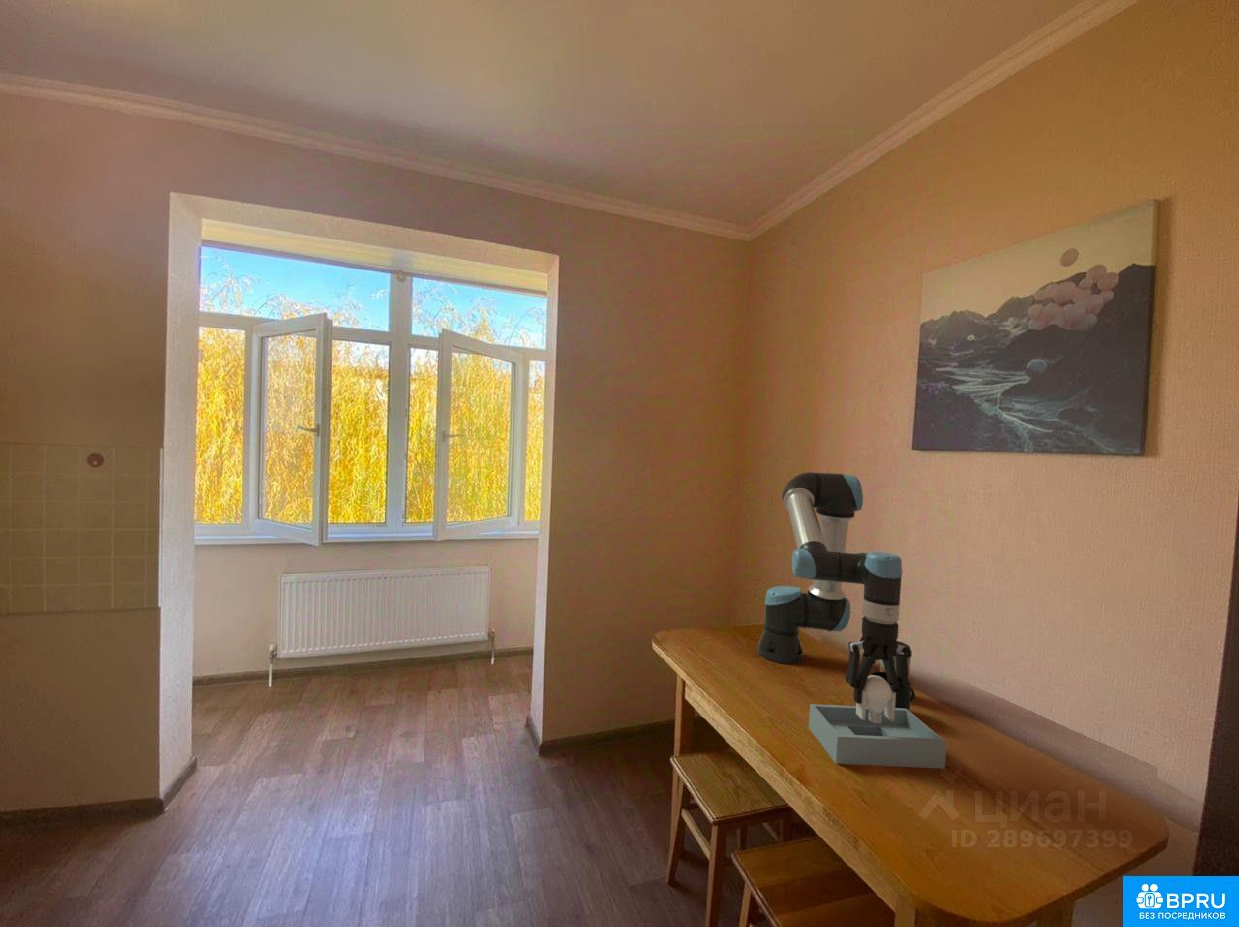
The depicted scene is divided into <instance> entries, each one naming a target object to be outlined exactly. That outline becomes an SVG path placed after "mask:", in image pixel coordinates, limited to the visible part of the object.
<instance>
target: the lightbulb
mask: <svg viewBox="0 0 1239 927" xmlns="http://www.w3.org/2000/svg"><path fill="white" fill-rule="evenodd" d="M864 690H865V691H866V692H867V694H866V706H867V707H868V708H869V716H868V717H869V718H868V719H869V721H871V722H872V723H873V724H880V723H881V716H882V712H883V709H884V706H885V705H886V704H887V703H888V702H889V701H890V699H891V696H892V690H891V687H890V685H889V683H888V682H887V681H886V680H885V679H883V678H882V677H880V676H876V675H870V674H869V676H868V678H867V681H866V684H865V686H864Z"/></svg>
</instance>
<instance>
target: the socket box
mask: <svg viewBox="0 0 1239 927" xmlns="http://www.w3.org/2000/svg"><path fill="white" fill-rule="evenodd" d="M884 710H885V708H884V709H883V712H882V716H881V723H880V724H873V723H872V722H871V721H869V719H868V718H869V717H868V716H869V708H868V706H866V712H865V720H862V719H861V718H860V717H859V716H858V715H857V714H856V705H838V704H837V705H836V704H835V705H834V704H815V703H814V704H812V703H810V704H809V718H808V719H809V720H808V730H810V732H811V733H812V734H813V736H814V737H815V738H816V740H817V741H818V742H819V744H820V745H821V746H822V748H824V751H826V753H827V754H828V755H829V757H830V758H831V759H832V761H833V762H834V764H836V765H838V764H839V765H851V766H852V765H853V766H857V765H858V766H873V767H874V766H876V767H899V768H901V767H902V768H921V769H922V768H923V769H944V770H945V768H946V756H947V755H946V752H947V741H946V740H945V739H944V738H942V736H940V735H939V734H938V733H936V732H935V731H934V730H933V729H932V728H931V727H929V726H928V725H927V724H926V723H924V722H923V720H921V719H920V718H918V717H917V716H916V715H914V714H913V713H912V712H911V710H910V711H908V710H907V709H903V708H895V716H894V721H891V720H889V719H888V718H887V717H886V716H885V715H884Z"/></svg>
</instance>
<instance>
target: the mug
mask: <svg viewBox="0 0 1239 927" xmlns="http://www.w3.org/2000/svg"><path fill="white" fill-rule="evenodd" d="M871 675H876V676H880V677H882V678H883V679H885V680H886V681H887V682H888V679H887V676H886V672H880V671H874V672H872V673H871ZM915 696H916V694H915V690H914V689H913V688H912V683H911V682H910V680H908V689H907V690H902V694H899V698H898V705H895V708H903V709H907V710H908V711H910V712H911V710H910V707H911V703H913V701H914V699H915V698H916V697H915ZM884 708H885V706H884Z"/></svg>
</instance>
